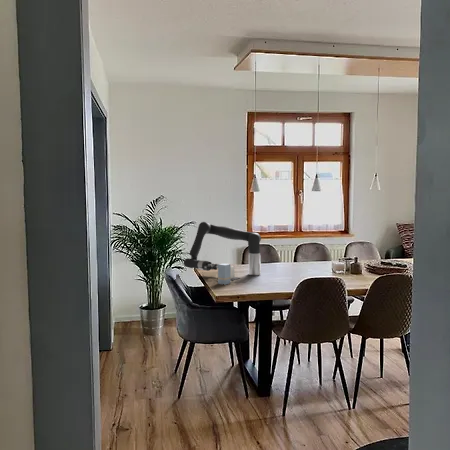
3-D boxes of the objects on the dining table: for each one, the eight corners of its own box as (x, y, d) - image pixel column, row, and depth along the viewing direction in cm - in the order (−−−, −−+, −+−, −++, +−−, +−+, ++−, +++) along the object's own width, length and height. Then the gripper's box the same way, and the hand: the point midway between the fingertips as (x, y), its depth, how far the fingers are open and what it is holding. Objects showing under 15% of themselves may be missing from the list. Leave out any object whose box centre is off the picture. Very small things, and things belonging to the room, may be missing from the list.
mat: (227, 276, 363) (227, 275, 363) (239, 278, 355) (239, 277, 355) (217, 278, 353) (217, 278, 353) (229, 280, 346) (229, 280, 346)
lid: (228, 276, 359) (227, 265, 358) (234, 277, 355) (234, 266, 354) (222, 278, 354) (222, 266, 353) (229, 279, 350) (229, 267, 349)
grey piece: (223, 282, 341) (223, 263, 340) (230, 283, 337) (230, 264, 336) (217, 283, 336) (217, 264, 335) (224, 284, 332) (224, 265, 331)
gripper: (198, 261, 363) (214, 264, 353) (210, 259, 374) (226, 261, 364) (198, 271, 364) (214, 273, 354) (210, 268, 375) (226, 271, 365)
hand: (220, 267), depth 359 cm, fingers open, 8 cm apart
